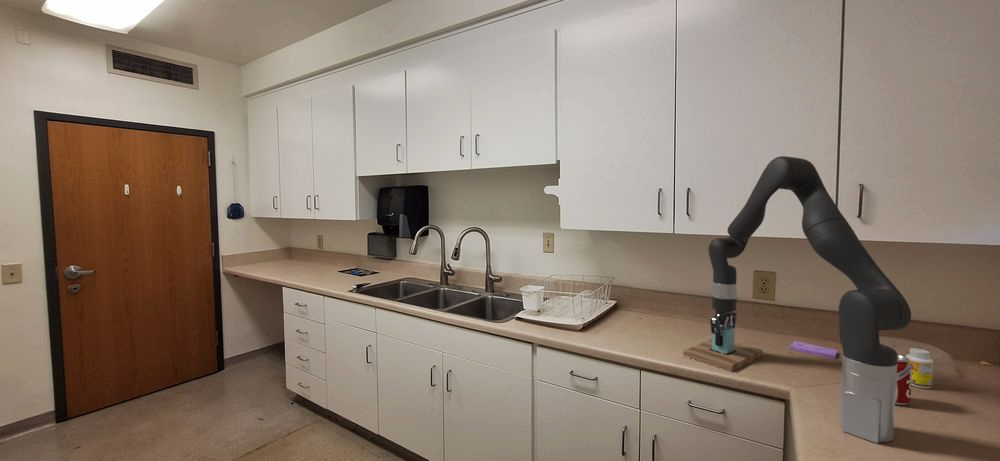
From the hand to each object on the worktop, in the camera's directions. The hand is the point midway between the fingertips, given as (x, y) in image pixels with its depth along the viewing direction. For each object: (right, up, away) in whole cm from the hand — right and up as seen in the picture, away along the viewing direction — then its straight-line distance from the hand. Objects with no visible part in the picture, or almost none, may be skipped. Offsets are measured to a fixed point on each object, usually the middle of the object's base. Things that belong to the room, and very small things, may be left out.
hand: (723, 343), depth 138 cm
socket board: (0, -4, 0) cm, 4 cm away
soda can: (+27, -6, -32) cm, 42 cm away
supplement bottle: (+43, -5, -23) cm, 49 cm away
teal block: (0, -2, 0) cm, 2 cm away
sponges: (+34, -4, +4) cm, 35 cm away
